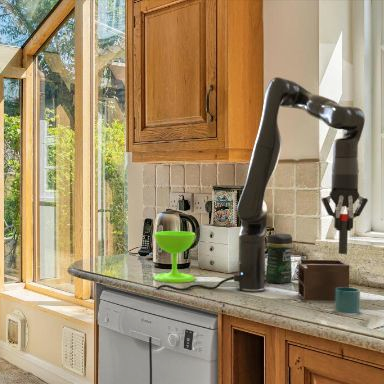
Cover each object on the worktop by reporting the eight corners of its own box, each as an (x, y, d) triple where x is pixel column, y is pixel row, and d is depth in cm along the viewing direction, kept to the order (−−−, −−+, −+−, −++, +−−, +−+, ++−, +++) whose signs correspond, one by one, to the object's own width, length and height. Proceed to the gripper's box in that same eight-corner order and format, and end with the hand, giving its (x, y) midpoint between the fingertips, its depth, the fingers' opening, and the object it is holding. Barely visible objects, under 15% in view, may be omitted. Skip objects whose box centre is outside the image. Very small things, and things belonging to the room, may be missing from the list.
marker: (339, 253, 178) (340, 214, 178) (337, 252, 181) (338, 213, 180) (348, 254, 178) (349, 214, 177) (346, 252, 180) (347, 213, 180)
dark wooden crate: (304, 301, 192) (304, 264, 191) (298, 294, 203) (298, 259, 202) (348, 302, 190) (349, 265, 190) (340, 295, 201) (340, 260, 201)
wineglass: (202, 281, 228) (202, 234, 227) (163, 283, 222) (164, 236, 222) (184, 274, 243) (184, 230, 242) (147, 276, 237) (148, 231, 237)
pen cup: (337, 315, 174) (338, 291, 174) (332, 309, 181) (332, 286, 181) (362, 315, 173) (362, 292, 173) (355, 310, 180) (356, 287, 180)
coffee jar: (278, 284, 220) (279, 235, 220) (262, 281, 227) (262, 233, 226) (295, 282, 226) (296, 233, 225) (279, 279, 232) (280, 231, 232)
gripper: (365, 173, 181) (363, 229, 182) (318, 172, 183) (317, 228, 183) (372, 173, 174) (370, 232, 174) (323, 172, 175) (322, 231, 176)
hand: (343, 230), depth 179 cm, fingers closed on marker, 2 cm apart
